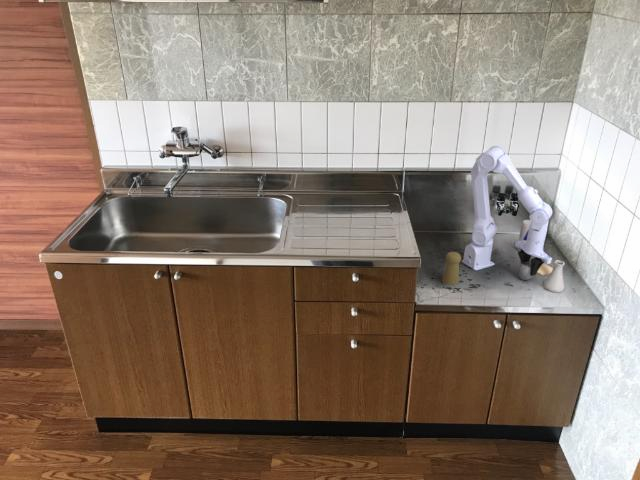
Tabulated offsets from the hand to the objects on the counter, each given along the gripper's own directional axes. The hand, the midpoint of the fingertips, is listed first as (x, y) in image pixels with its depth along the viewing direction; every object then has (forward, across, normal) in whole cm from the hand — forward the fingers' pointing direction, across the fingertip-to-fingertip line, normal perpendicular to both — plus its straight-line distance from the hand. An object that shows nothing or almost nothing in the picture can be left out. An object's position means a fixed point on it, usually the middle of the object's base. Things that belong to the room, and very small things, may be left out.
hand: (528, 272), depth 184 cm
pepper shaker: (+3, +11, +26) cm, 28 cm away
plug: (+2, 0, 0) cm, 2 cm away
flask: (+2, -9, -3) cm, 10 cm away
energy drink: (+2, +16, -15) cm, 22 cm away
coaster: (+2, +2, -9) cm, 9 cm away
